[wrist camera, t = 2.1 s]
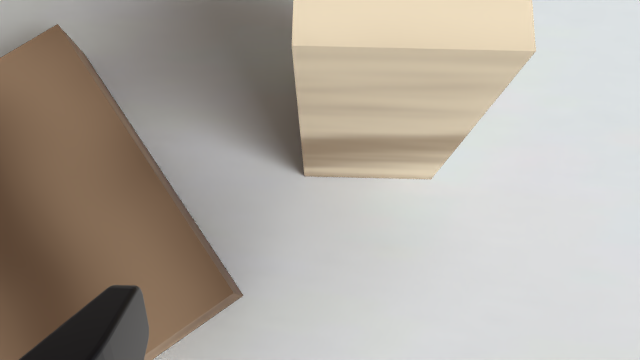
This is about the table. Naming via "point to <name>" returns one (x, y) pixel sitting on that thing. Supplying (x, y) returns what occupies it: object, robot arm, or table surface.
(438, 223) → the table surface
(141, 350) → the robot arm
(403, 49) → the birch block
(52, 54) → the walnut base block
